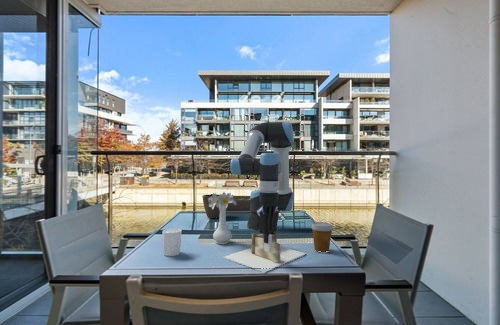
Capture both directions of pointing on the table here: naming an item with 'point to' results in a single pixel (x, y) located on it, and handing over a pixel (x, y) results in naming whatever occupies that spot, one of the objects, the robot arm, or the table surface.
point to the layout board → (261, 262)
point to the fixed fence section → (274, 238)
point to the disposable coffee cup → (322, 236)
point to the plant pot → (208, 210)
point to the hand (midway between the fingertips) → (267, 250)
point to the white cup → (171, 241)
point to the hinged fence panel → (272, 255)
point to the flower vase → (222, 216)
